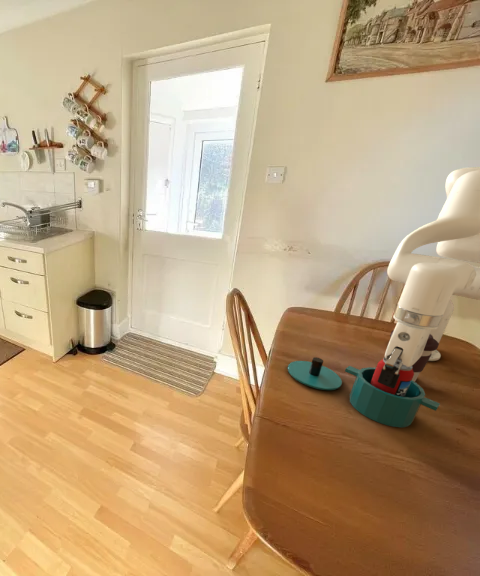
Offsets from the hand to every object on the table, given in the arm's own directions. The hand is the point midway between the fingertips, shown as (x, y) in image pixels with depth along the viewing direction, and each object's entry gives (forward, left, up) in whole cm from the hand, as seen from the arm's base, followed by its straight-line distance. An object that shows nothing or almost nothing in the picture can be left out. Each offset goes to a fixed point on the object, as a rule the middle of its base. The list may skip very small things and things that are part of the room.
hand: (391, 379), depth 79 cm
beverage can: (0, 0, -7) cm, 7 cm away
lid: (0, -16, -9) cm, 18 cm away
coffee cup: (-22, -2, -10) cm, 24 cm away
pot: (0, 0, -9) cm, 9 cm away
